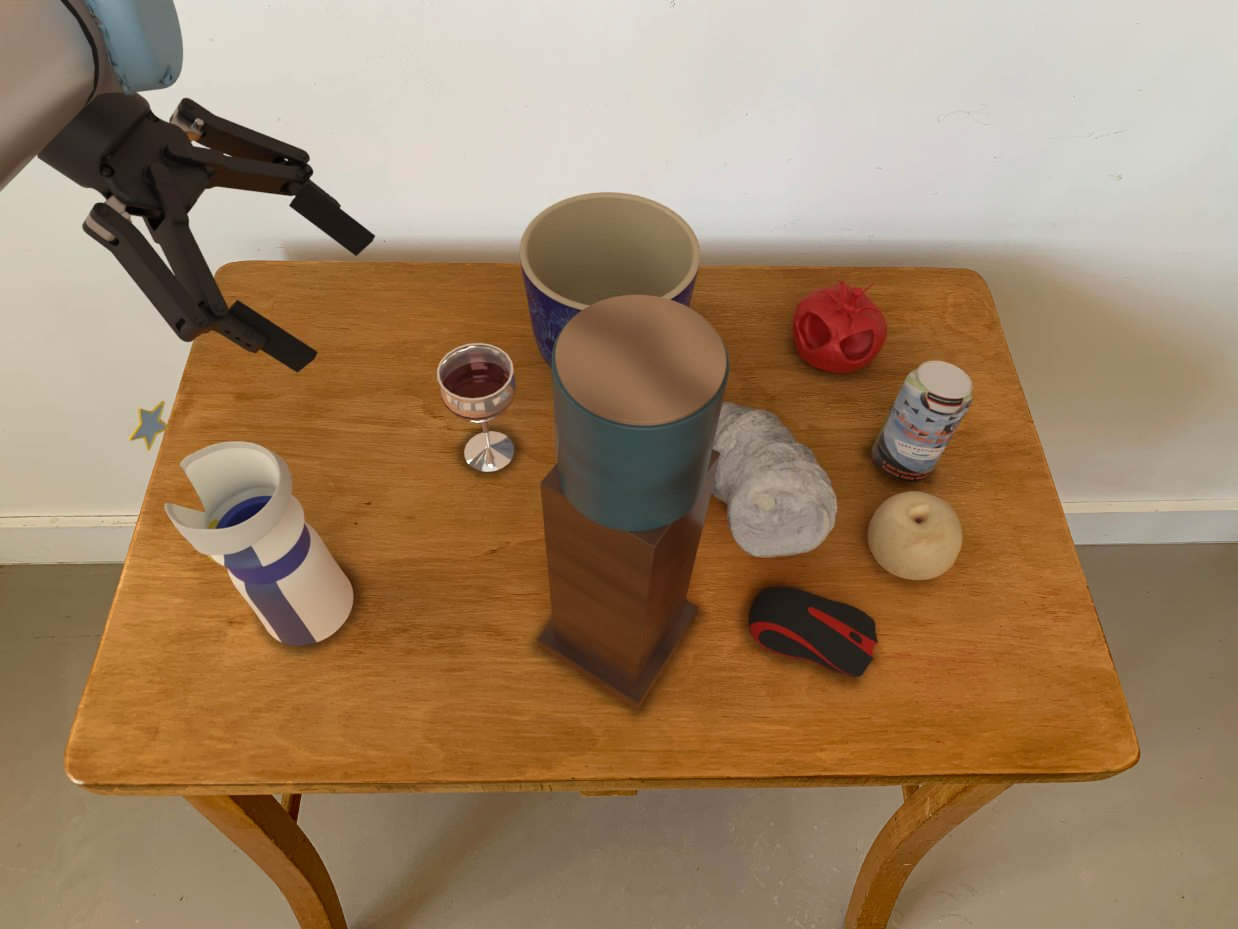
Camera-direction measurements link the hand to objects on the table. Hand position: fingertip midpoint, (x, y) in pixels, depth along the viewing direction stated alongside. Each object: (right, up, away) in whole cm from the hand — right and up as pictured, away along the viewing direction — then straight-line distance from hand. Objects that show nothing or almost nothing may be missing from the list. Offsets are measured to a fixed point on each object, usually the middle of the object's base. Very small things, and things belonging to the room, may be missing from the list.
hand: (338, 301), depth 64 cm
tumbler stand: (+23, -28, +4) cm, 36 cm away
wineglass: (+10, -12, +15) cm, 21 cm away
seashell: (+34, -16, +13) cm, 40 cm away
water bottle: (-4, -26, +5) cm, 27 cm away
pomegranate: (+46, -1, +24) cm, 52 cm away
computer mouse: (+39, -28, +5) cm, 49 cm away
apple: (+49, -22, +10) cm, 55 cm away
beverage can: (+51, -13, +16) cm, 55 cm away
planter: (+21, -2, +22) cm, 31 cm away
